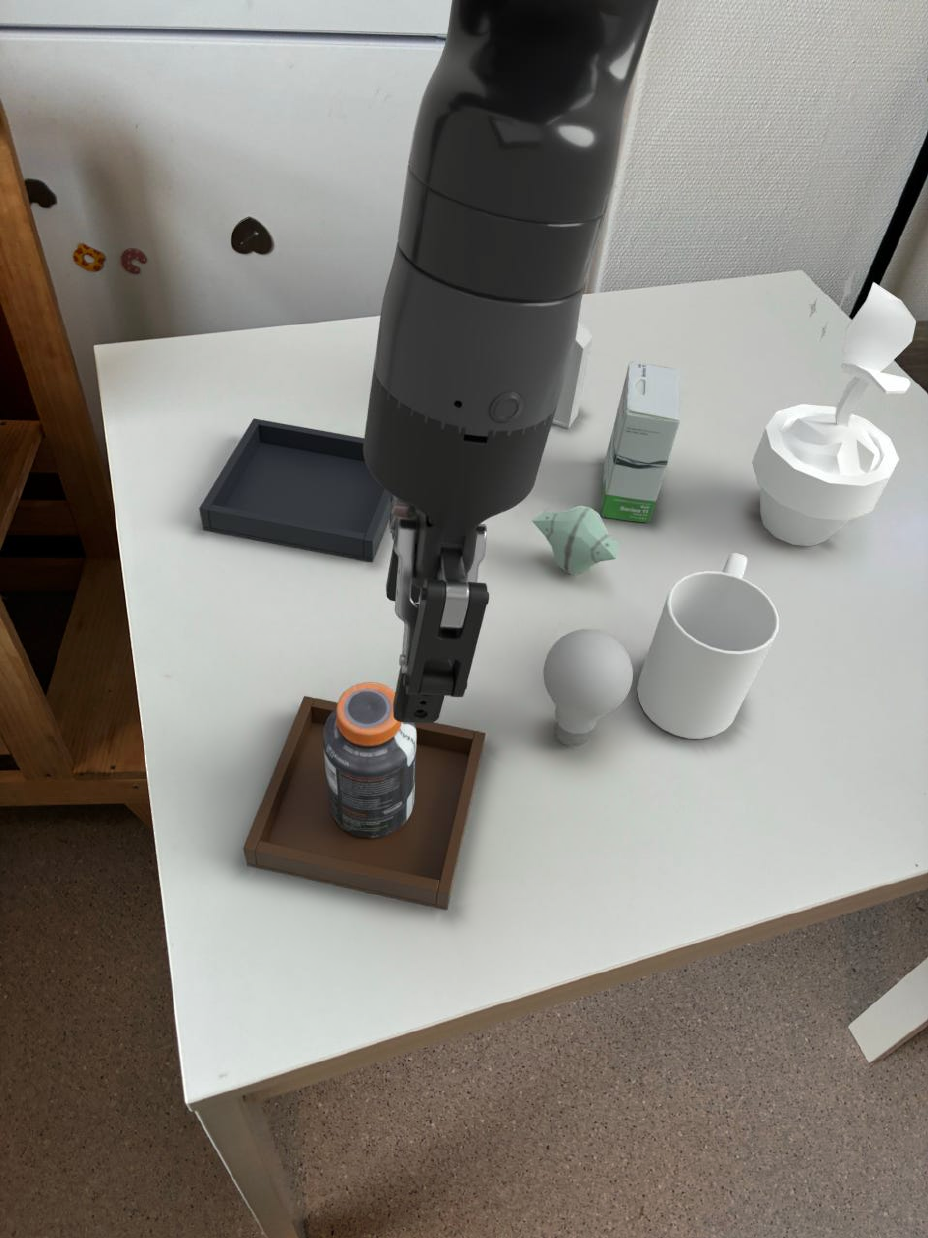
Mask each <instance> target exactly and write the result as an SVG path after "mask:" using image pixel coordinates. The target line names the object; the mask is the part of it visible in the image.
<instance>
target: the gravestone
mask: <svg viewBox="0 0 928 1238" xmlns="http://www.w3.org/2000/svg"><path fill="white" fill-rule="evenodd" d="M593 338H594V335H593V334H592V333H591V331H590V330H589V329H588V328H587V327H586V326H585V325H584V324H583V323H582V322H581V321H579V320H578V328H577V334H576V340H575V345H574V349H573V353H572V357H571V360H570V363H569V367H568V370H567V374H566V377H565V381H564V384H563V387H562V391H561V394H560V398H559V401H558V404H557V408H556V411H555V415H554V418H553V422H552V425H557V426H560V427H562V428H564V429H570V427H571V426H572V425H573V423H574V422H575V420H576V419H577V417H578V416H579V411H580V406H581V400H582V396H583V390H584V386H585V380H586V376H587V370H588V364H589V359H590V354H591V349H592V343H593Z"/></svg>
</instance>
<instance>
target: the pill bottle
mask: <svg viewBox="0 0 928 1238" xmlns="http://www.w3.org/2000/svg"><path fill="white" fill-rule="evenodd" d="M395 692H396V690H393V689H392V688H391V687H389V686H388V685H386V684H383V683H381V682H374V681H373V682H372V681H368V682H367V681H366V682H360V683H357V684H354V685H351V686H350V687H348V689H346V690H344V692H343V693H342V694H341V696H340V697H339V698H338V700H337V708H335V709H334V710H333V712H332V713H331V714H330V715H329V717H328V719H327V721H326V723H325V726H324V730H323V746H324V757H325V768H326V778H327V788H328V800H329V808H330V812H331V814H332V816H333V818H334V820H335V821H336V823H337V824H338V825H339V826H340V827H341V828H342V829H344V830H345V831H347V832H349V833H350V834H352V835H355V836H358V837H363V838H379V837H382V836H386V835H388V834H391V833H392V832H394V831H396V830H398V829H399V828H400V827H401V826H402V825H404V824H405V822H406V821H407V820H408V818H409V816H410V814H411V812H412V809H413V805H414V791H415V767H416V726H415V724H414V723H411V722H399V721H397V720H395V719H394V715H393V702H394V697H395Z"/></svg>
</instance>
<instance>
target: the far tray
mask: <svg viewBox="0 0 928 1238" xmlns="http://www.w3.org/2000/svg"><path fill="white" fill-rule="evenodd" d="M363 444H364V437H360V436H355V435H349V434H344V433H343V434H342V433H337V432H332V431H326V430H321V429H315V428H309V427H304V426H298V425H293V424H288V423H283V422H276V421H272V420H271V421H270V420H265V419H260V418H253V419H252V420H251V422H250V423H249V425H248V427H247V429H246V430H245V432H244V433H243V435H242V437H241V438H240V440H239V441H238V444H237V445H236V446H235V448H234V450H233V451H232V453H231V455H230V456H229V458H228V460H227V461H226V463H225V465H224V466H223V467H222V470H221V471H220V473H219V475H218V476H217V478H216V480H215V481H214V483H213V484H212V486H211V488H210V489H209V491H208V493H207V494H206V495H205V497H204V499H203V501H202V503H201V504H200V506H199V507H198V510H199V515H200V520H201V525H202V530H203V531H208V532H211V533H216V534H217V533H218V534H223V535H228V536H233V537H238V538H243V539H247V540H248V539H249V540H253V541H259V542H263V543H264V542H265V543H270V544H275V545H278V546H279V545H280V546H285V547H291V548H296V549H301V550H306V551H311V552H316V553H322V554H327V555H333V556H338V557H343V558H347V559H353V560H358V561H363V562H367V563H369V562H370V563H374V560H375V558H376V556H377V552H378V550H379V548H380V545H381V542H382V540H383V538H384V534H385V532H386V530H387V527H388V525H389V521H390V504H391V502H390V498H391V494H390V493H389V492H388V491H386V490H385V489H384V488H383V487H382V486H381V485H380V484H379V483H378V482H377V481H376V480H375V479H374V477H373V476H372V475H371V473H370V471H369V469H368V468H367V465H366V463H365V459H364V454H363Z"/></svg>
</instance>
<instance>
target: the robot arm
mask: <svg viewBox="0 0 928 1238" xmlns="http://www.w3.org/2000/svg"><path fill="white" fill-rule="evenodd" d="M659 2H660V0H451V3H450V4H451V5H450V11H449V18H448V26H447V33H446V36H445V37H446V38H445V43H444V45H443V49H442V51H441V52H442V53H441V55H440V58H439V59H438V62H437V65H436V67H435V68H434V70H433V73H432V75H431V77H430V79H429V80H428V82H427V85H426V86H425V90H424V92H423V94H422V97H421V100H420V104H419V107H418V111H417V115H416V117H415V118H416V119H415V122H414V123H415V124H414V127H413V132H412V138H411V143H410V144H411V145H410V150H409V154H408V155H409V156H408V161H407V162H408V163H407V168H406V175H405V182H404V190H403V197H402V204H401V212H400V220H399V226H398V234H397V242H396V246H395V252H394V257H393V261H392V264H391V269H390V271H389V275H388V278H387V281H386V286H385V290H384V293H383V297H382V302H381V303H382V304H381V309H380V316H379V322H378V323H379V324H378V332H377V339H376V348H375V354H374V361H373V362H374V363H373V370H372V377H371V384H370V391H369V399H368V407H367V415H366V422H365V430H364V435H363V438H364V444H363V454H364V459H365V463H366V465H367V468H368V469H369V471H370V473H371V475H372V476H373V477H374V479H375V480H376V481H377V482H378V483H379V484H380V485H381V486H382V487H383V488H384V489H385V490H386V491H388V492H389V493H390V494H391V498H390V502H391V504H390V519H389V522H388V529H389V533H390V534H391V538H392V539H391V540H392V541H393V543H392V548H391V555H390V561H389V566H388V571H387V579H386V584H385V593H386V595H385V596H386V598H387V599H388V600H389V601H391V602H394V613H395V615H396V617H397V618H398V619H400V620H401V621H402V622H403V624H404V626H403V636H402V637H403V638H402V639H403V640H402V648H401V652H402V653H400V654H399V661H398V665H399V666H400V668H399V672H398V677H397V681H396V682H397V683H396V688H395V697H394V702H393V715H394V719H395V720H397V721H399V722H411V723H433V722H435V723H436V722H437V721H438V720H439V718H440V715H441V711H442V707H443V703H444V699H445V696H446V697H452V698H464V696H465V692H466V690H467V689H468V680H469V677H470V673H471V668H472V664H473V660H474V657H475V653H476V648H477V645H478V641H479V637H480V633H481V629H482V626H483V622H484V618H485V614H486V609H487V605H489V602H490V592H489V591H488V590H489V589H488V586H487V585H488V584H487V583H486V582H478V579H479V566H480V565H481V564H482V562H484V559H485V558H486V551H487V550H486V549H487V539H488V528H487V525H486V523H483V522H486V521H487V520H489V519H491V518H492V517H494V516H497V515H499V514H501V513H502V514H503V513H504V512H507V511H510V510H512V509H513V508H515V507H517V506H518V505H520V504H521V503H522V502H523V501H524V500H525V499H526V498H527V497H528V496H529V495H530V494H531V492H532V490H533V489H534V485H535V484H536V480H537V477H538V476H537V475H538V473H539V469H540V467H541V462H542V460H543V456H544V453H545V449H546V445H547V441H548V437H549V435H550V432H551V428H552V425H553V423H552V422H553V418H554V415H555V411H556V408H557V404H558V401H559V398H560V394H561V391H562V387H563V384H564V381H565V377H566V374H567V370H568V367H569V363H570V360H571V357H572V353H573V349H574V345H575V340H576V334H577V328H578V321H579V320H580V314H581V313H580V312H581V306H582V299H583V296H584V292H585V286H586V282H587V280H588V276H589V272H590V270H591V267H592V262H593V259H594V257H595V253H596V249H597V245H598V242H599V239H600V234H601V231H602V228H603V224H604V220H605V217H606V213H607V209H608V207H609V202H610V197H611V194H612V190H613V185H614V181H615V176H616V171H617V165H618V161H619V154H620V148H621V141H622V132H623V125H624V116H625V112H626V106H627V102H628V99H629V95H630V91H631V88H632V85H633V82H634V79H635V75H636V74H637V70H638V66H639V64H640V61H641V58H642V54H643V52H644V48H645V45H646V43H647V39H648V36H649V32H650V29H651V27H652V23H653V20H654V17H655V14H656V11H657V9H658V4H659Z"/></svg>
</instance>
